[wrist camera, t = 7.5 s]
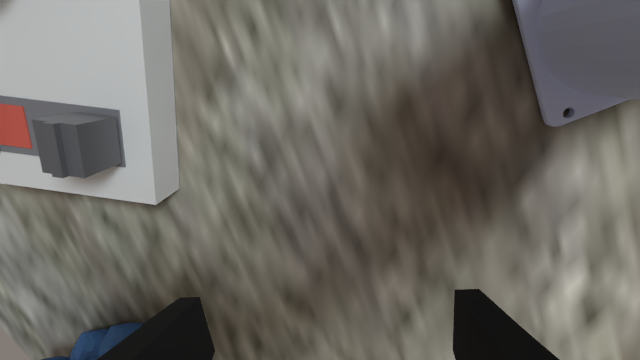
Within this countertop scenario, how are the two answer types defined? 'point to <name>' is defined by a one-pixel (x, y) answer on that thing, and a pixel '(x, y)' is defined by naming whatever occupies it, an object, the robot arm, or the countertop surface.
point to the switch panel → (90, 90)
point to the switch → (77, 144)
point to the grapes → (99, 342)
